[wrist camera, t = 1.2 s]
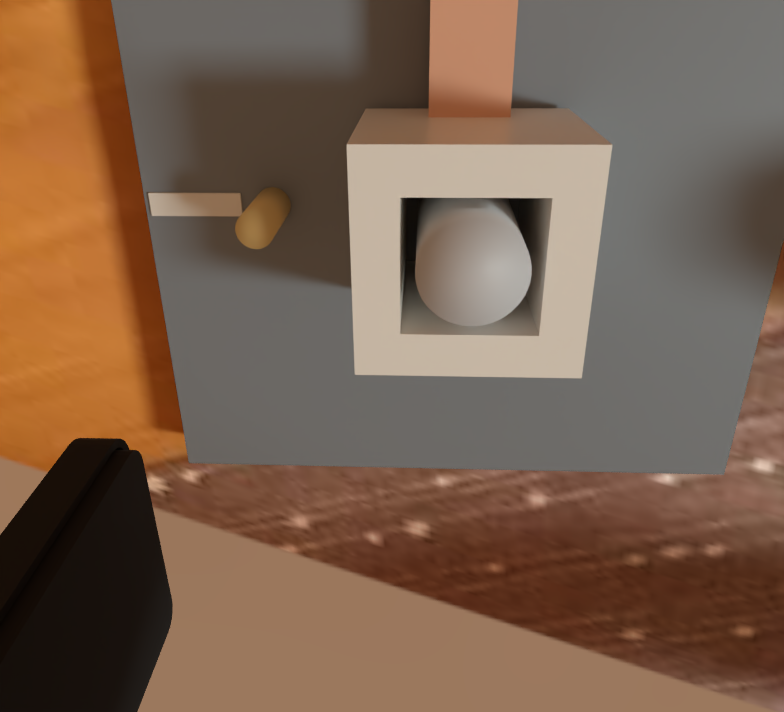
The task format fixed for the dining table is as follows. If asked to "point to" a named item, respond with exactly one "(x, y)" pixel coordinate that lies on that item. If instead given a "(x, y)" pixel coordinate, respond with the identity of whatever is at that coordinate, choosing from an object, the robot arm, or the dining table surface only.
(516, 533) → the dining table surface
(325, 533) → the dining table surface
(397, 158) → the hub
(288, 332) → the board
